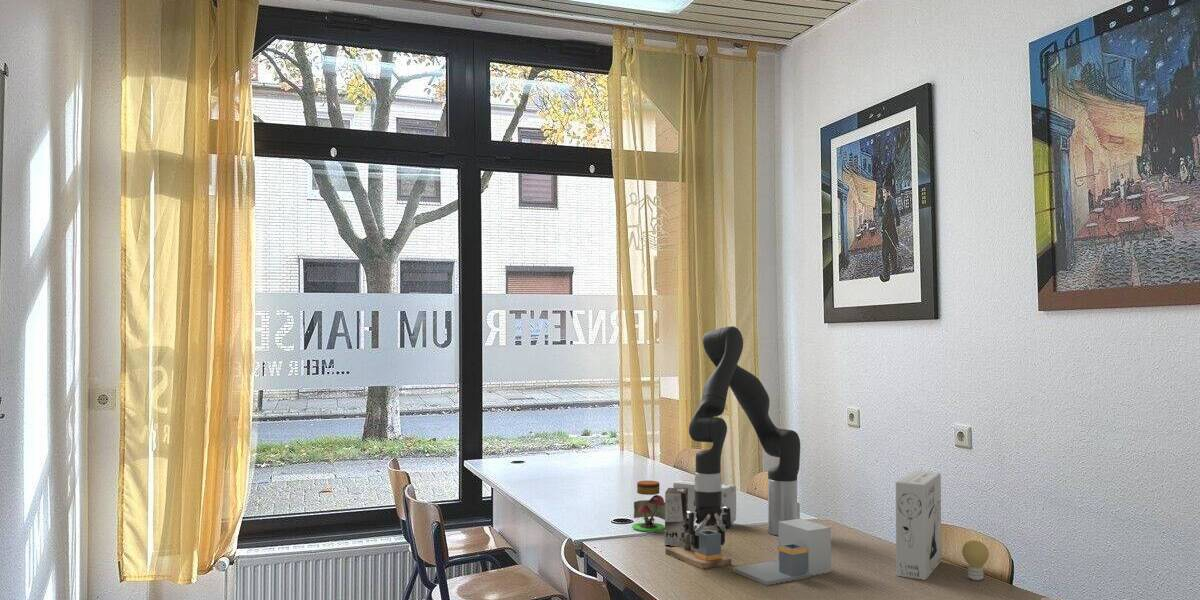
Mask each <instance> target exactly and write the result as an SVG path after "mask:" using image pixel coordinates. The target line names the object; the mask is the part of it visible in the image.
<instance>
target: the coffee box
mask: <svg viewBox="0 0 1200 600" xmlns="http://www.w3.org/2000/svg"><path fill="white" fill-rule="evenodd" d="M664 493H665V494H664V497H665V498H664V502H665V520H664V546H666V545H670V546H669V547H679V546H684V534H685V533H686V532H685V514H686V511H688V488H674V487H667V489H666V491H665V492H664Z"/></svg>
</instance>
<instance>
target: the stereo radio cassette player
mask: <svg viewBox="0 0 1200 600" xmlns="http://www.w3.org/2000/svg"><path fill="white" fill-rule="evenodd" d="M676 464H679V465H680V466H682V467H683V468H684V469H686V470H687V471H688V472H690V473H692V474H693V475H694V476H695V474H696V472H694V471H692V470H691V469H690V468H687V467H686V466H685V465H683V464H681V463H680V462H679V461H676ZM672 488H688V511H691V512H692V511H695V509H696V506H695V479H694V480H693V479H683V478H682V479H678V480H675V481H673V482H672ZM723 506H725V507H728V508H730V515H731V525H732V524H733V523H734V522H736V520H737V487H736V485H735V484H729V483H722V504H721V506H720V507H721V508H722V507H723ZM719 518H720V519H721V521H722V514H721V515H720V517H719ZM695 519H696V516H695ZM695 519H694V521H695Z"/></svg>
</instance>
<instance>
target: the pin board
mask: <svg viewBox="0 0 1200 600" xmlns="http://www.w3.org/2000/svg"><path fill="white" fill-rule="evenodd" d="M695 552H696V549H694V548H693V547H692V545H691V534H689V533H685V534H684V546H671V547H666V548H665V554H666V553H667V554H669V555H668V556H670V555H672V556H674V557H673V558H675V557H676V558H675V559H677V558H678V560H679V559H680V561H682V560H683V561H682V562H684V561H685V562H684V563H686V562H687V563H686V564H689V563H690V564H689V565H691V564H692V566H694V567H696V568H698V567H699V568H698V569H701V570H705V569H711V568H716V567H717V568H718V567H723V566H729V565H732V558H730V557H728V556H725V555H723V554H722V558H721V559H716V560H709V561H705V560H703V559H700V558H698V557H695ZM667 554H666V555H667ZM672 556H671V557H672ZM704 568H705V569H704Z"/></svg>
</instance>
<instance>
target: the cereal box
mask: <svg viewBox="0 0 1200 600" xmlns="http://www.w3.org/2000/svg"><path fill="white" fill-rule="evenodd" d="M895 556H896V557H895V570H896V571H895V574H896V576H897V577H901V576H902V578H907V577H908V579H914V578H915V579H914V580H920V579H921V581H926V580H927V579H928V578H929V576H930V575H931V574H932V573H933V572H934V571H933V570H935V569H936V568H937V567H938V566H939V565H940V563H941V562H942V475H941V473H940V472H934V471H933V472H931V471H923V470H913V471H911V472H910V473H907V475H905V476H903V477H902V478H899V480H897V481H896V482H895Z"/></svg>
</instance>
